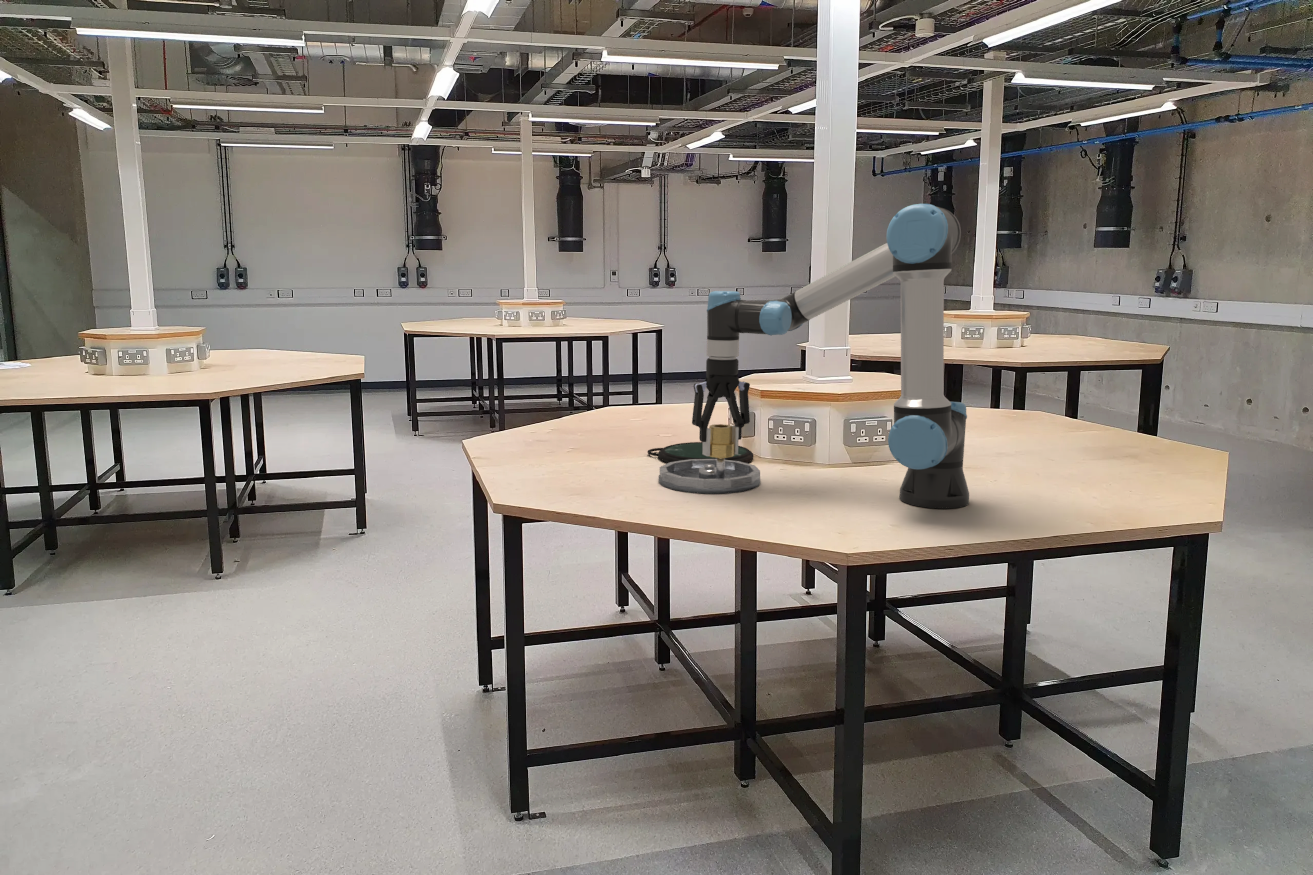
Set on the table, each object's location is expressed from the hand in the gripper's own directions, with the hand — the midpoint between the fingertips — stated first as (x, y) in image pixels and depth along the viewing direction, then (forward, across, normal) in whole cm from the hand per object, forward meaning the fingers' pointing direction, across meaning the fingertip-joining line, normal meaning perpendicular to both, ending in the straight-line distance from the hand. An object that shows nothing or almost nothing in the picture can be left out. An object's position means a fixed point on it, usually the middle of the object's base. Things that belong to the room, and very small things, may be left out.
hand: (720, 454), depth 220 cm
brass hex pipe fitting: (0, 0, 0) cm, 0 cm away
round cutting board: (+9, -9, -34) cm, 36 cm away
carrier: (+8, 0, -6) cm, 10 cm away
